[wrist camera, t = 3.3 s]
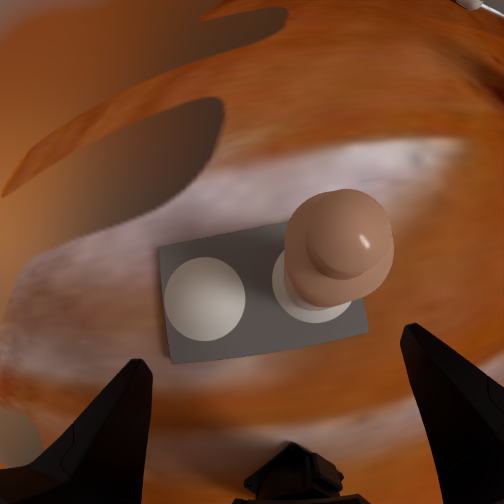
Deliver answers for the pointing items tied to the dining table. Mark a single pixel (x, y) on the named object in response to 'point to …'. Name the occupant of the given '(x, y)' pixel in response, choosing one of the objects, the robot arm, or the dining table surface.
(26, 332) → the dining table surface
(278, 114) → the dining table surface
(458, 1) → the lidded jar
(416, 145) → the dining table surface
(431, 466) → the dining table surface
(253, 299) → the slate board
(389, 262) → the light brown tall cylinder
